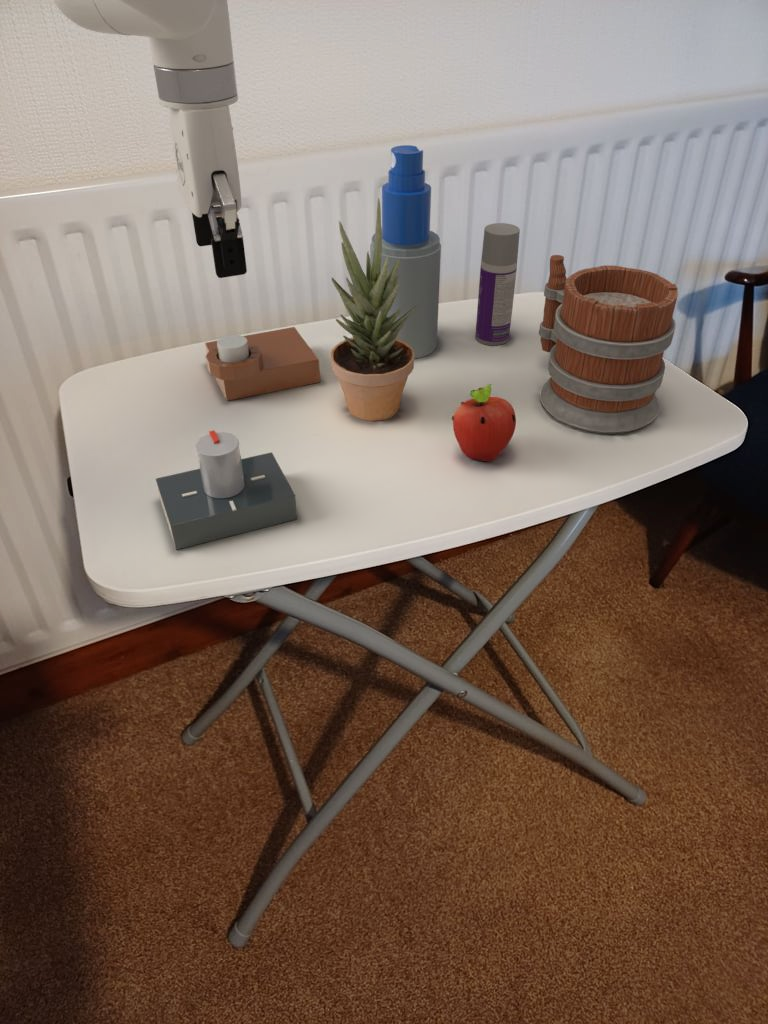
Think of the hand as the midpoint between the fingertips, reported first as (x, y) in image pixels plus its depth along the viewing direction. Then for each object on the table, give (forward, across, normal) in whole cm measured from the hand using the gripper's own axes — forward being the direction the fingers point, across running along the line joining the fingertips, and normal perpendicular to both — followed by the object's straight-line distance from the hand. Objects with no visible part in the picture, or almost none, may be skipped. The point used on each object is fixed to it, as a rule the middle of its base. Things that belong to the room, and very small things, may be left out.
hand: (221, 259), depth 86 cm
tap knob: (+14, +22, -7) cm, 27 cm away
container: (+17, -2, +36) cm, 40 cm away
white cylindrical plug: (+12, -1, 0) cm, 12 cm away
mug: (+17, +16, +39) cm, 46 cm away
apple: (+17, +24, +21) cm, 36 cm away
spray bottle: (+17, -4, +24) cm, 30 cm away
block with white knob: (+17, -4, +4) cm, 18 cm away
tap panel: (+17, +22, -7) cm, 29 cm away
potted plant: (+17, +10, +14) cm, 24 cm away
